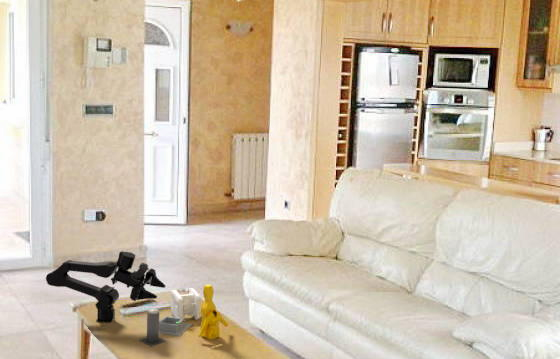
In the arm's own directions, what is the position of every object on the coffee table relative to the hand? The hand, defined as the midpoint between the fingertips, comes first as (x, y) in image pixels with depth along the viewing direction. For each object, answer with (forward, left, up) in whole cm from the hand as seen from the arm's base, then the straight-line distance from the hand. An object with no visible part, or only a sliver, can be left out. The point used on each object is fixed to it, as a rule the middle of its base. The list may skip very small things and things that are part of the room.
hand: (161, 291), depth 291 cm
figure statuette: (+23, -7, -16) cm, 29 cm away
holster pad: (+1, -17, -15) cm, 23 cm away
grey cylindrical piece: (+1, -17, -15) cm, 23 cm away
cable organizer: (+8, +13, -16) cm, 22 cm away
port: (+5, -2, -15) cm, 16 cm away
